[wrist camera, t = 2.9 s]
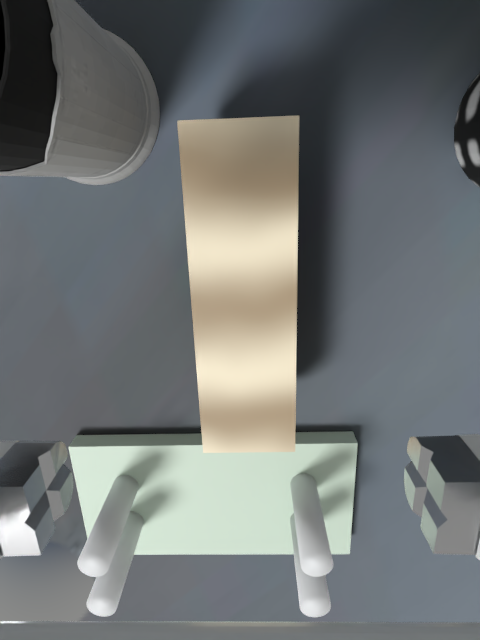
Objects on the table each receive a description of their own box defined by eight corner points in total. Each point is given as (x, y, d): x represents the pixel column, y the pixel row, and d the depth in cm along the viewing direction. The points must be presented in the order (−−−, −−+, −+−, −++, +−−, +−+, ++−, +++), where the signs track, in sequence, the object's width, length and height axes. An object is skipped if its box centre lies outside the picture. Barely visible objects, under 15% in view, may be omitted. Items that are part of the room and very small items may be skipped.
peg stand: (97, 539, 36) (52, 643, 28) (76, 435, 32) (18, 519, 24) (345, 538, 35) (373, 645, 27) (352, 431, 31) (387, 517, 23)
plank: (289, 414, 28) (295, 452, 24) (209, 415, 28) (203, 453, 24) (291, 126, 22) (299, 115, 18) (190, 130, 22) (177, 120, 18)
